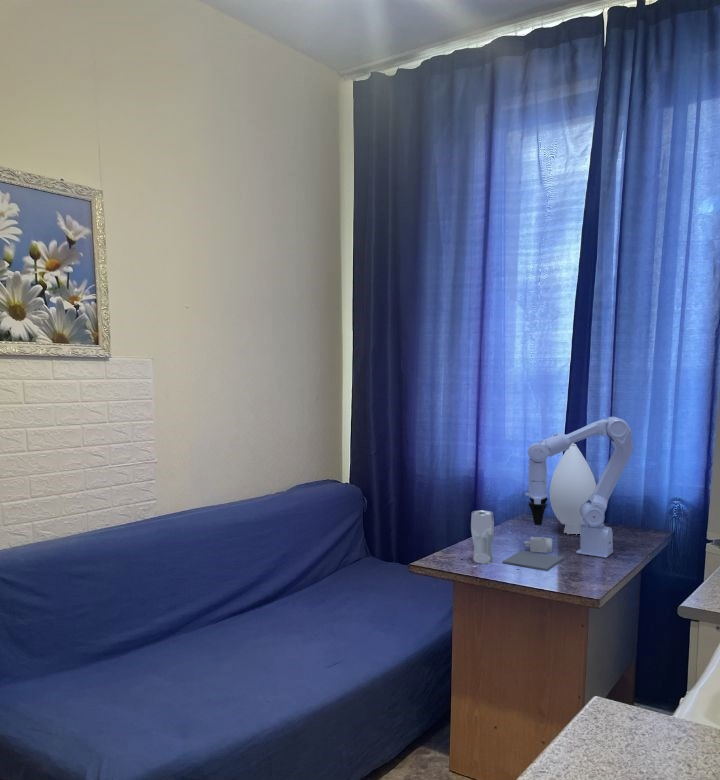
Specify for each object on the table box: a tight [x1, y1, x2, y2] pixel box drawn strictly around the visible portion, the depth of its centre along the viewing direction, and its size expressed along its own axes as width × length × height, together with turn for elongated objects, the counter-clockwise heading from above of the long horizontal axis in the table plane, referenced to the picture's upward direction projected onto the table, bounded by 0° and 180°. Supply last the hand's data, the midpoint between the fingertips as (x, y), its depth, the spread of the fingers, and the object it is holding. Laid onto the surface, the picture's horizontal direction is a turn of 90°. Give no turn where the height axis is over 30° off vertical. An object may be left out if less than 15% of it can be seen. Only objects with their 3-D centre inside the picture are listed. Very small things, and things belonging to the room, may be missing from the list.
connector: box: [524, 536, 553, 554], centre depth 208 cm, size 8×4×4 cm, turn 73°
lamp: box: [549, 443, 597, 536], centre depth 230 cm, size 16×16×35 cm
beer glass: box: [470, 509, 495, 565], centre depth 198 cm, size 7×7×15 cm
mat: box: [501, 550, 565, 572], centre depth 197 cm, size 14×14×1 cm
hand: (538, 522), depth 208 cm, fingers open, 7 cm apart
